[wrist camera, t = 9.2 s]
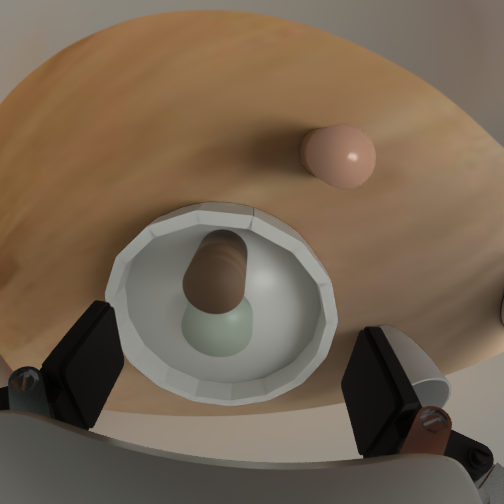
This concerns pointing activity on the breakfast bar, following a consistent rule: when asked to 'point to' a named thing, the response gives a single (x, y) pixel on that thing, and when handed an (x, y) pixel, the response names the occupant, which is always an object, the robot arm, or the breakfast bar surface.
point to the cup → (419, 369)
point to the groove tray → (265, 286)
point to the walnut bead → (217, 273)
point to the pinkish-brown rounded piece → (338, 155)
